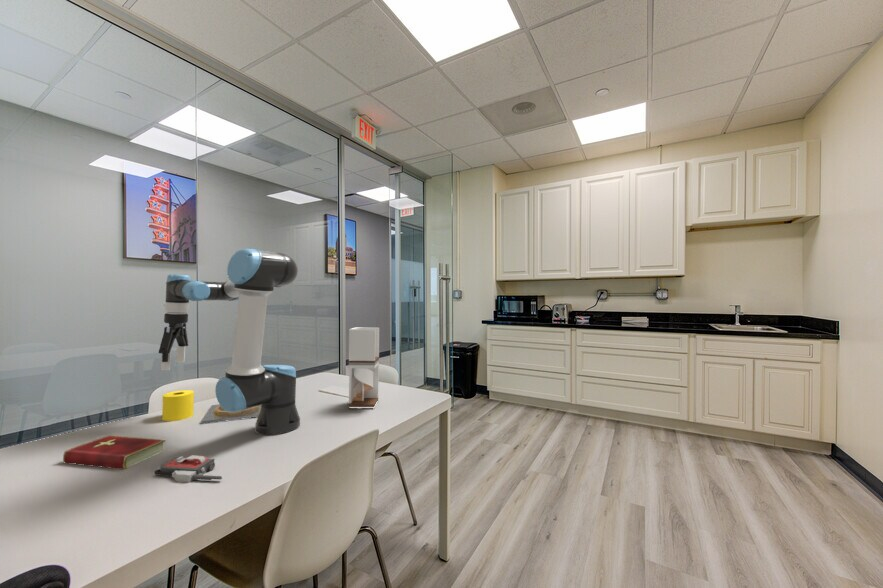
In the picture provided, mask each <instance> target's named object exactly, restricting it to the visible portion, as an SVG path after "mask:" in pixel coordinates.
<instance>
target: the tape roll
mask: <svg viewBox="0 0 883 588" xmlns="http://www.w3.org/2000/svg"><path fill="white" fill-rule="evenodd" d="M194 398H195V391H194V390H191V389H190V390H189V389H187V390H185V389H184V390H175V391H170V392H166V393H164V394H163V395H162V409H161V410H162V411H161V413H162V414H161V417H162V418H161V419H162V421H163V420H165V421H164V422H176V421H181V420H187V419H189V418H192V417H193V416H194V403H195V402H194V401H195V400H194Z"/></svg>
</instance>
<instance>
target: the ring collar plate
mask: <svg viewBox="0 0 883 588" xmlns="http://www.w3.org/2000/svg"><path fill="white" fill-rule="evenodd" d="M260 410H261V405H258V406H255V407H252V408H248V409H245V410H243V411H237V412H227V411H225V410H224V409H223V408H222V407H221V406H220V404H219V403H218V404H212V405H211V406H210V407H209V408H208V410H207V412H206V413H205V414H204V416H203V418H202V419H201V420H200V424H201V425H203V423H205V424H211V423H210V422H214V423H219V422H218V421H222V422H227V421H226V420H231V421H235V420H234V419H240V420H243V419H242V418H249V419H251V418H250V417H257V418H258V416H259V413H260Z"/></svg>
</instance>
